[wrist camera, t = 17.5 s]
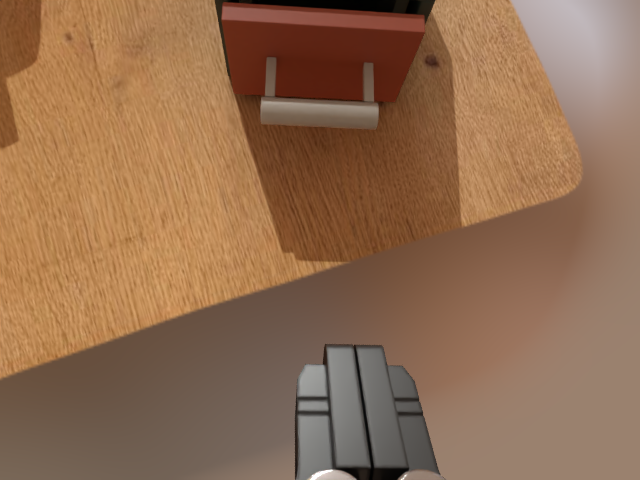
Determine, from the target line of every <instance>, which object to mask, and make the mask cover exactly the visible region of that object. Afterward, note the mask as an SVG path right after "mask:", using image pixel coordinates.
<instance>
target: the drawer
mask: <svg viewBox="0 0 640 480" xmlns="http://www.w3.org/2000/svg"><path fill="white" fill-rule="evenodd" d="M408 3H409V0H239V3H231V2H223V5H222V19H221V20H222V26H223V32H224V38H225V44H226V50H227V56H228V62H229V68H230V74H231V80H232V86H233V92H234V94H247V95H265V97H261V109H260V120H261V124H267V125H288V126H309V127H330V128H350V129H371V130H375V129H376V128H377V125H378V119H379V106H378V103H374V101H383V102H395V101H396V98H397V96H398V94H399V92H400V89H401V87H402V85H403V82H404V80H405V78H406V75H407V73H408V71H409V68H410V66H411V64H412V62H413V59H414V57H415V55H416V52H417V50H418V48H419V45H420V43H421V41H422V38H423V36H424V34H425V18H424V15H417V14H405V12H406V9H407V6H408ZM275 96H286V97H305V98H325V99H344V100H363V102H354V101H335V100H315V99H296V98H277V97H275Z"/></svg>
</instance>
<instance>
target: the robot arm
mask: <svg viewBox="0 0 640 480" xmlns="http://www.w3.org/2000/svg"><path fill="white" fill-rule="evenodd" d="M295 480H446V479H445V478H444V477H442V476H441V475H440V473H439V470H438V467H437V463H436V459H435V456H434V452H433V448H432V444H431V441H430V437H429V433H428V430H427V426H426V422H425V418H424V416H423V411H422V407H421V404H420V402H419V396H418V392H417V389H416V385H415V381H414V380H413V379H412V377H411V376H410V375H409V373H408V372H407V371H406V370H405V368H404V367H403V366H387V362H386V357H385V353H384V349H383V346H382V345H354V347H353V345H349V344H325V347H324V357H323V364H322V365H320V364H305V366H304V368H303V370H302V372H301V373H300V375H299V377H298V379H297V394H296V411H295Z"/></svg>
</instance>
